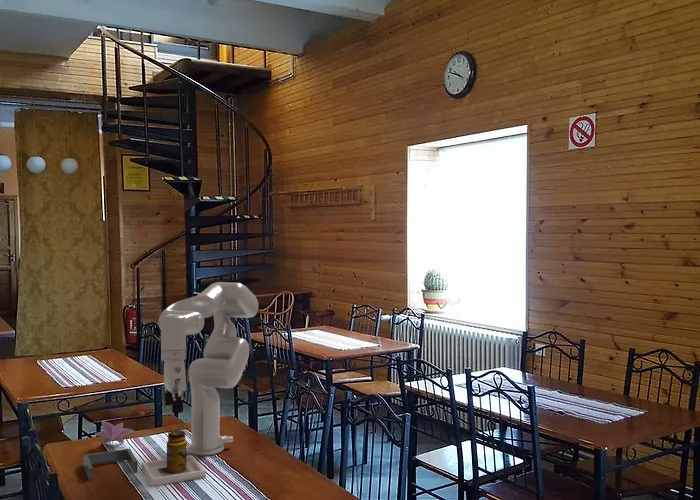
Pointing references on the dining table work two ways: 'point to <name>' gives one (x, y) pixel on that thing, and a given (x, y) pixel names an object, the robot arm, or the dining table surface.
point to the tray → (159, 479)
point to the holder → (109, 460)
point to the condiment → (175, 454)
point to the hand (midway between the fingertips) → (173, 408)
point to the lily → (113, 432)
